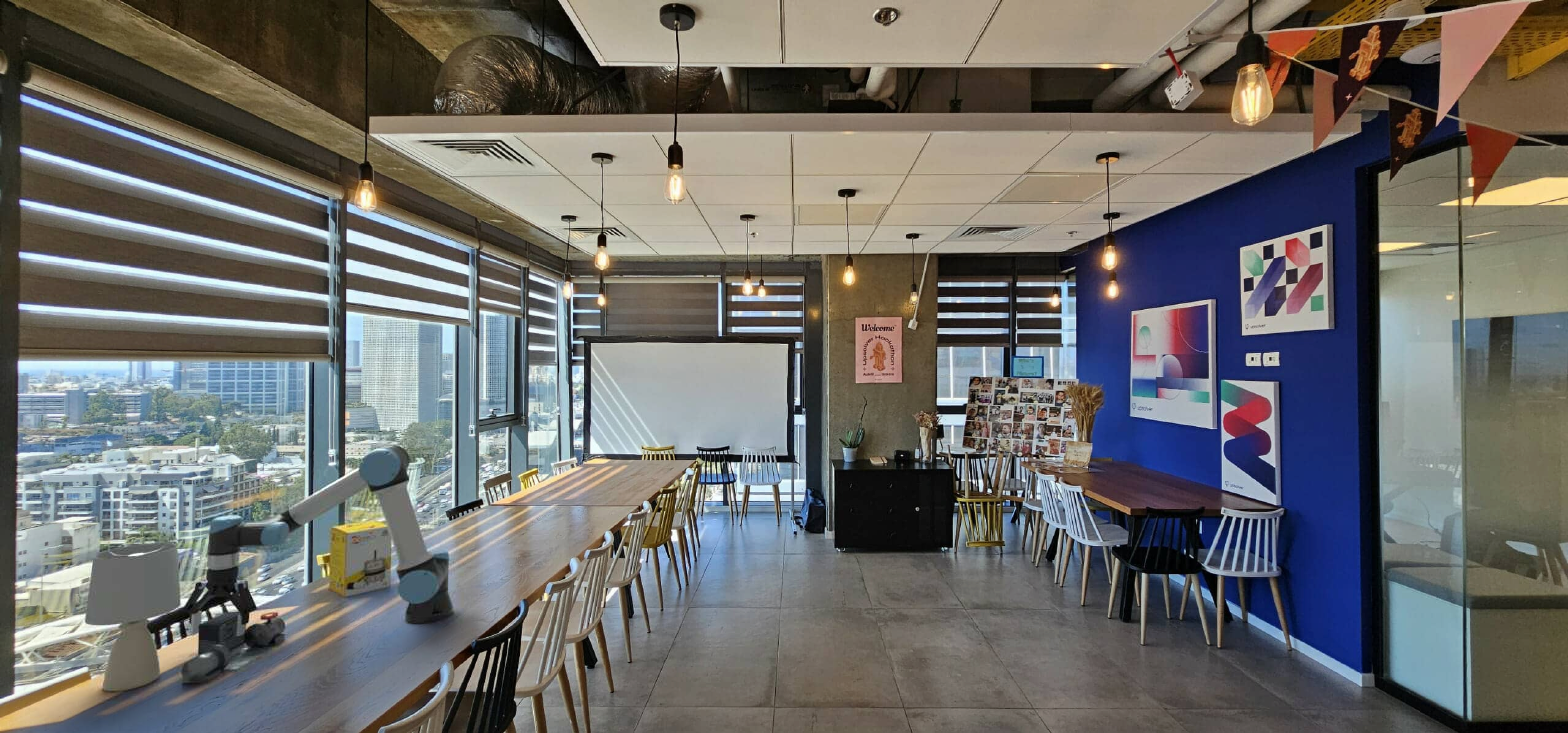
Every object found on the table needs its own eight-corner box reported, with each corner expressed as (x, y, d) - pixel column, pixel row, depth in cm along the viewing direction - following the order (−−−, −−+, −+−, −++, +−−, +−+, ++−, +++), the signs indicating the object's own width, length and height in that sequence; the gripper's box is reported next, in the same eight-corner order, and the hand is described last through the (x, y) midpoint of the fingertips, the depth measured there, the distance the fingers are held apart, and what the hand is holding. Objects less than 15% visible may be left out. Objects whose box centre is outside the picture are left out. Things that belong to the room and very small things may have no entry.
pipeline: (257, 639, 203) (258, 611, 203) (292, 638, 204) (293, 611, 204) (171, 685, 172) (172, 653, 173) (213, 685, 173) (214, 652, 173)
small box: (224, 644, 199) (225, 611, 200) (245, 643, 200) (246, 610, 200) (195, 658, 189) (197, 624, 189) (218, 658, 190) (219, 623, 190)
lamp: (135, 666, 184) (140, 541, 184) (196, 668, 183) (200, 542, 184) (60, 698, 165) (65, 559, 166) (127, 700, 164) (132, 560, 165)
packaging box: (373, 578, 265) (375, 520, 266) (390, 586, 256) (391, 525, 256) (328, 588, 252) (330, 527, 253) (344, 597, 242) (346, 533, 243)
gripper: (273, 563, 200) (269, 630, 199) (191, 561, 198) (186, 628, 197) (255, 570, 192) (250, 639, 192) (170, 568, 190) (164, 638, 190)
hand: (218, 634), depth 194 cm, fingers open, 13 cm apart
